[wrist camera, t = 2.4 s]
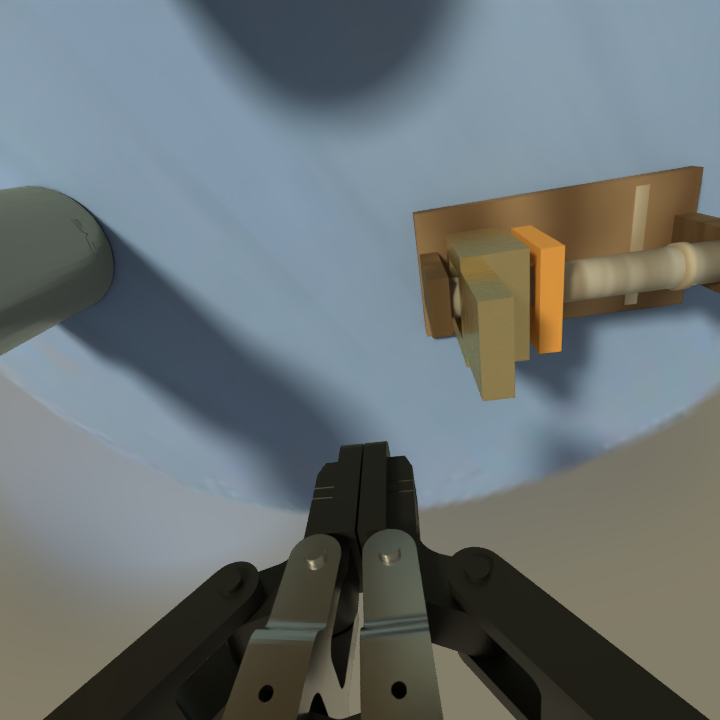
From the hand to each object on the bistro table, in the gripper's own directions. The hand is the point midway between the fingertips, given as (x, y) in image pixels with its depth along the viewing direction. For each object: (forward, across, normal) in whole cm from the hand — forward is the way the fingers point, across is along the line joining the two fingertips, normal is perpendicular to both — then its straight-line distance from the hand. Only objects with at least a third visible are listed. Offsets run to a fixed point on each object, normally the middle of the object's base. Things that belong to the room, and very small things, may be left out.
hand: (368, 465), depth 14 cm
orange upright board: (+18, -9, 0) cm, 20 cm away
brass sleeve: (+18, -6, 0) cm, 19 cm away
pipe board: (+21, -12, 0) cm, 24 cm away
